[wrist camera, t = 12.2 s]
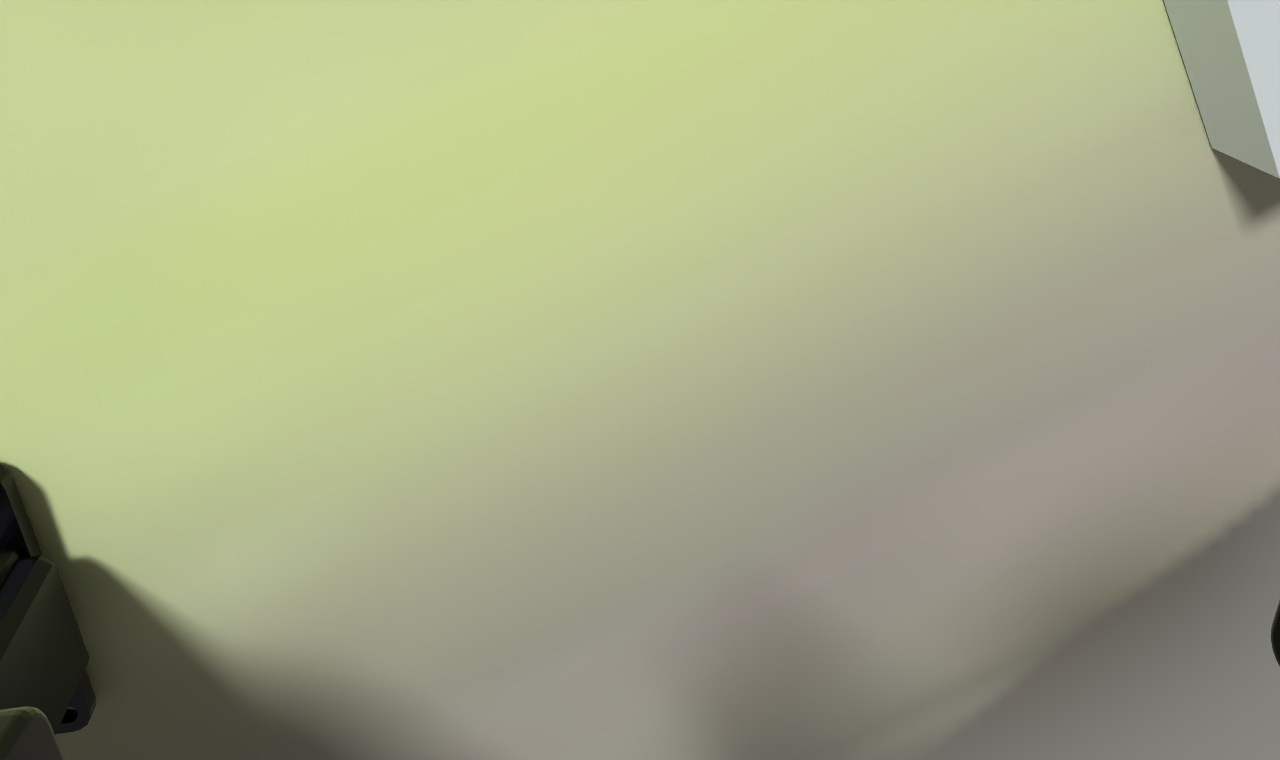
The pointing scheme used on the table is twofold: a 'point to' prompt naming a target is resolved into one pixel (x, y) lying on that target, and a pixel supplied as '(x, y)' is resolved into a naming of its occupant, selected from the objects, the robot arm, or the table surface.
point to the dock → (1234, 73)
